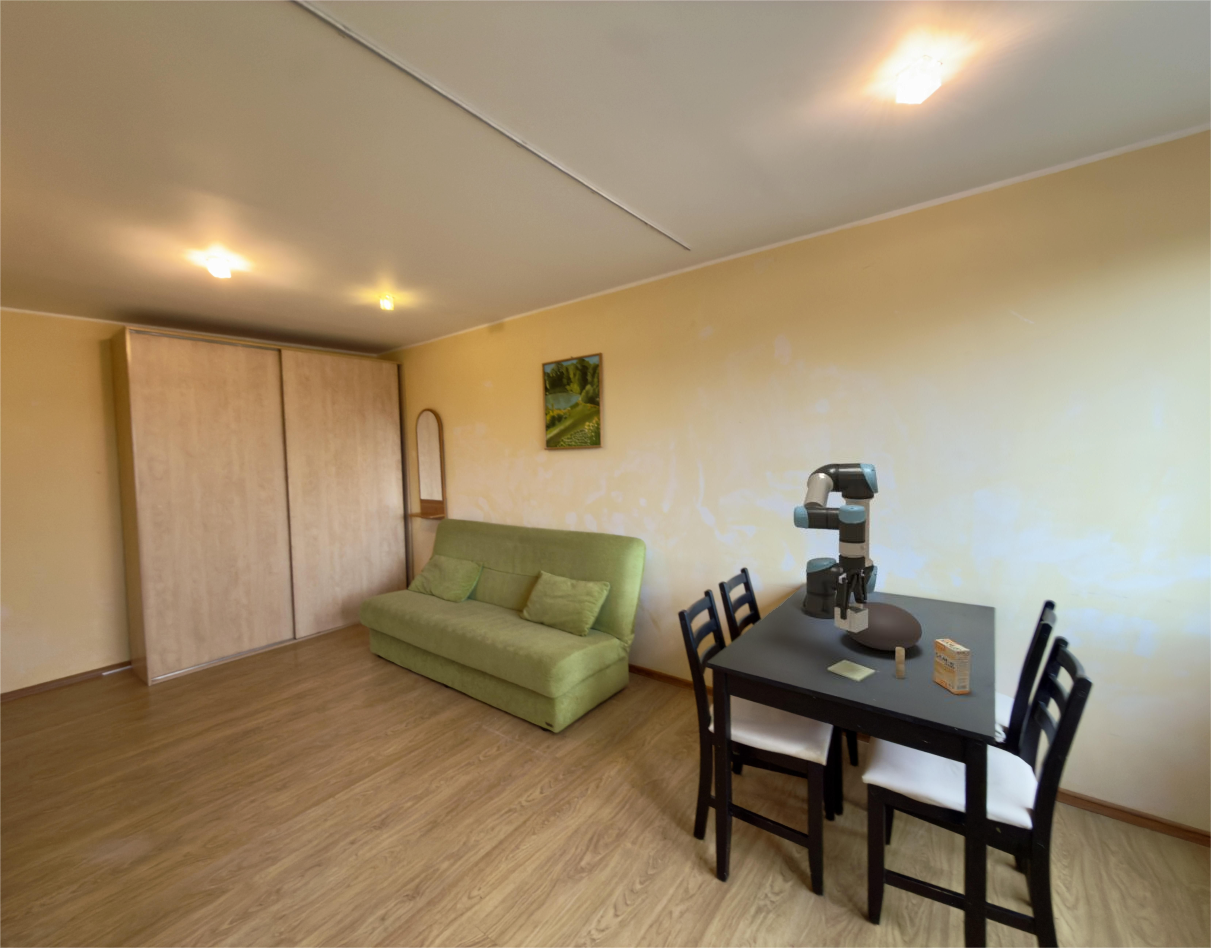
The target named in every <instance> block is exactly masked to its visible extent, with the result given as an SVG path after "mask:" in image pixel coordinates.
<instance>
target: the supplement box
mask: <svg viewBox="0 0 1211 948" xmlns="http://www.w3.org/2000/svg"><path fill="white" fill-rule="evenodd" d="M970 666H971V649H969V648H966V647H965V646H963V645H961V644H959V643H957V642H955V641H953V640H952V639H949V638H940V639H935V640H934V665H933V671H934V672H933V681H934V682H935V683H937V684H938V685H940V686H942V687H943V688H945V689H946V690H948V691H950V692H951V693H952V694H954V695H962V694H965V695H966V694H970V676H971V675H970V674H971V673H970V672H971V671H970V670H971V669H970V668H971V667H970Z"/></svg>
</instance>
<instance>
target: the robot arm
mask: <svg viewBox="0 0 1211 948" xmlns="http://www.w3.org/2000/svg"><path fill="white" fill-rule="evenodd" d="M806 487H807V492H806V494H805V497H804V502H803V504H802V505H801V506H798V505H797V506H795V507H794V509H793V525H794V527H795V528H797V529H798V528H800V529H805V530H806V529H811V530H812V529H813V530H828V531H830V530H832V531H838V553H839V555H838V562H837V559H836V558H834V557H815V558H811V559H808V561H807V563H806V568H805V574H806V576H805V578H806V585H805V586H806V588H805V589H806V594H805V596H804V599H803V601H802V604H801V611H802V613H803V614H805V615H807V616H810V617H813V618H818V619H835V607H837V608H840V629H842V630H848V631H849V630H850V609H848V607H849V604H850V602H851V595H852V593H853V599H854V602H853V603H852V605H855V606H859V607H863V604H866V603H867V602H868V601H867V600H868V595H870V594H873V593H874V591H875V588H876V584H877V576H878V566H877V565H874V560H872V559H871V558H870V516H871V515H870V506H871V504H870V502H871V501H872V500H873V499H875V494H878V493H879V487H878V479H877V472H876V467H875V465H874V464H872V463H864V462H855V463H854V462H853V463H852V462H851V463H850V462H849V463H828V464H827V463H826V464H825V465H821V466H820V467H818V468H816V469H815V470H814V471H813V472H812V473H810V474H809V476H808V478H807V481H806ZM830 493H841V498H842V499H843V500H844V501H845V504H844V505H841V506H840V507H830V506H829V507H828V506H827V505H828V501H829V494H830Z"/></svg>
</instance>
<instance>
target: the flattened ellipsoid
mask: <svg viewBox="0 0 1211 948" xmlns="http://www.w3.org/2000/svg"><path fill="white" fill-rule="evenodd" d="M863 608H867V609H868V628H866V629H863V630H861V631H859V632H857V633H855V632H852V631H848V630H845V629H844V630H845V632H846V633H847V634H848V635H849V636H850V637H851V638H852V639H853V640H855V641H856V642H858V643H860V644H862V645H864V646H867V647H869V648H872V649H875V650H881V651H890V652H891V651H896V647H902V648H904V649H905V650H906V649H908V648H911V647H913V646H914V645H916V644H917V643H919V641H920V640H921V637H922V635H923V631H922V630H923V629H922V626H921V623H920V622H919V620H918V618H916V617H915V616H914V615H913V614H912V613H910V612H909V611H907V610H906V609H904V608H902V607H899V606H897V605H894V604H889V603H886V602H879V601H867V603H866V604H863Z"/></svg>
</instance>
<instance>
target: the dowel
mask: <svg viewBox="0 0 1211 948" xmlns="http://www.w3.org/2000/svg"><path fill="white" fill-rule="evenodd" d="M905 650H906V649H904V648H902V647H896V650H895V660H894V661H895V666H894V667H895V669H894V672H895V673H894V675H895V676H894V677H896V679H901V680H903V679H905V655H906V653H905V652H906V651H905Z"/></svg>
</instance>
